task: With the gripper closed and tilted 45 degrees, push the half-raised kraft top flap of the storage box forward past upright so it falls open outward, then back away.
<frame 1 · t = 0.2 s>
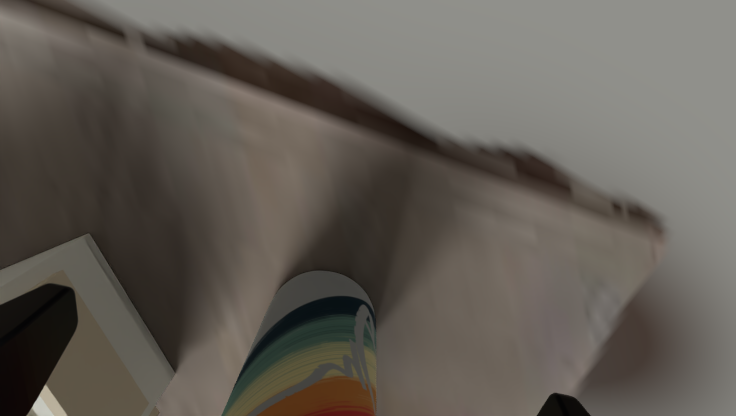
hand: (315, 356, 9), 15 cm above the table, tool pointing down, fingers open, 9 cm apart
storage box: (24, 349, 27), on the table
lotion bottle: (323, 314, 26), on the table
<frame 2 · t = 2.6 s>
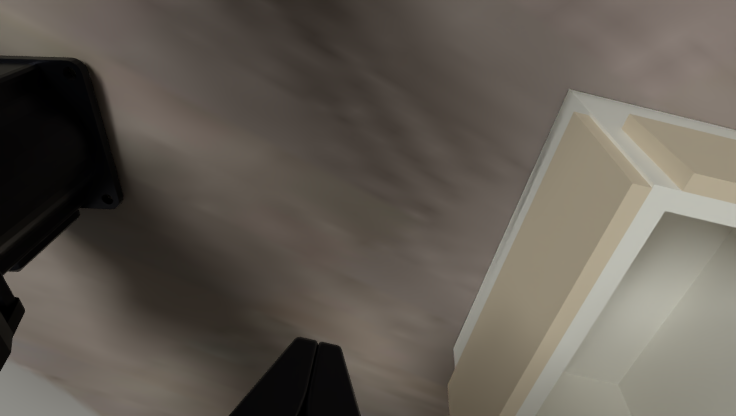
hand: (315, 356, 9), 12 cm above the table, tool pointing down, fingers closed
storage box: (598, 262, 22), on the table
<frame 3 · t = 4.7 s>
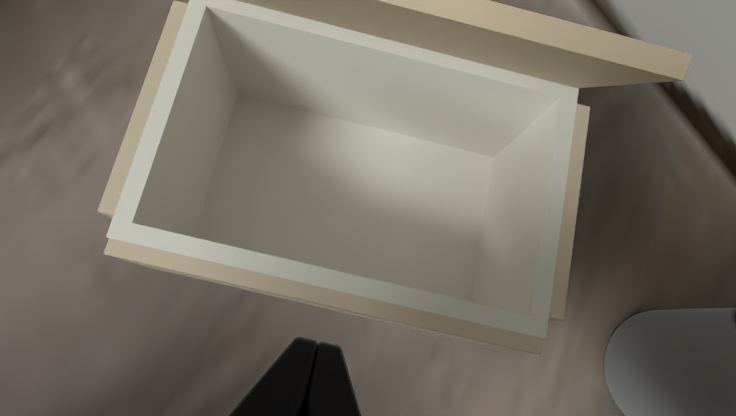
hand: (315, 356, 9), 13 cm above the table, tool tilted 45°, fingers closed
storage box: (348, 204, 24), on the table
top flap: (396, 15, 14), point 11 cm above the table, hinge at 65.0°
lotion bottle: (654, 370, 24), on the table
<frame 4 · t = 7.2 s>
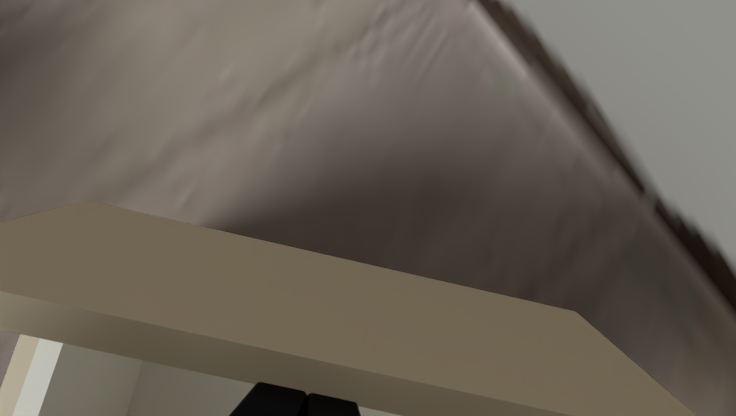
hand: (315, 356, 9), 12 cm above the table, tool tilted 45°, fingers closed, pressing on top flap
storage box: (304, 392, 20), on the table
top flap: (326, 307, 10), point 11 cm above the table, hinge at 68.1°, touching gripper
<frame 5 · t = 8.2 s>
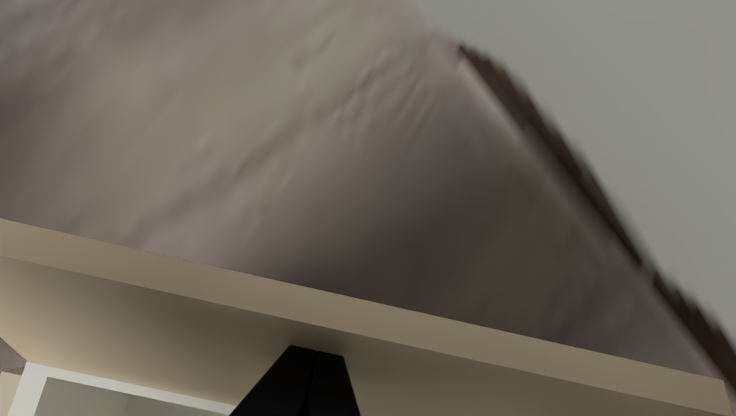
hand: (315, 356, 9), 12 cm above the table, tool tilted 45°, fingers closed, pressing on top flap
top flap: (311, 369, 10), point 10 cm above the table, hinge at 114.7°, touching gripper
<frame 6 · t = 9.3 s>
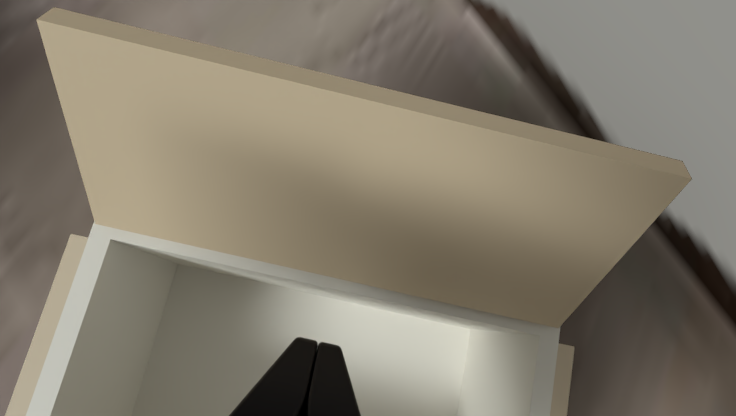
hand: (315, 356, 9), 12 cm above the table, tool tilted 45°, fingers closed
storage box: (304, 389, 21), on the table
top flap: (351, 196, 12), point 10 cm above the table, hinge at 122.4°
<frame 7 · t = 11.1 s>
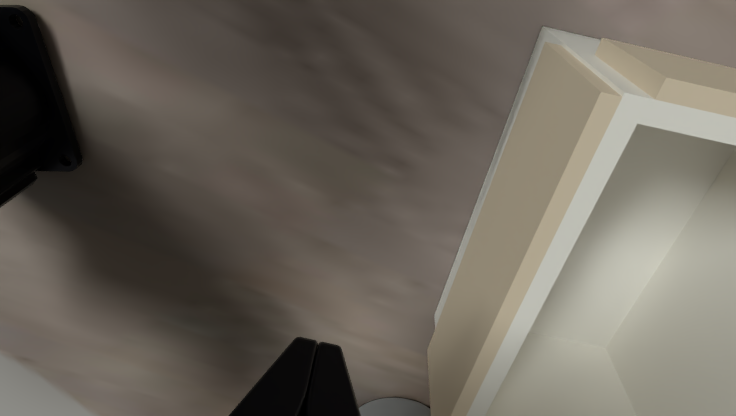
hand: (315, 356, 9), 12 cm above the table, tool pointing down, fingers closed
storage box: (580, 217, 21), on the table
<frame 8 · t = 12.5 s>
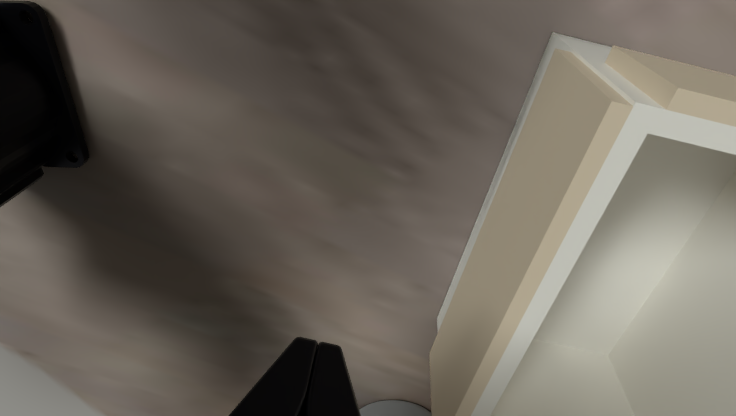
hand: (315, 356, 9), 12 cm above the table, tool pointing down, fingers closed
storage box: (586, 223, 21), on the table
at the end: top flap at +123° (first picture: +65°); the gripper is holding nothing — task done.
